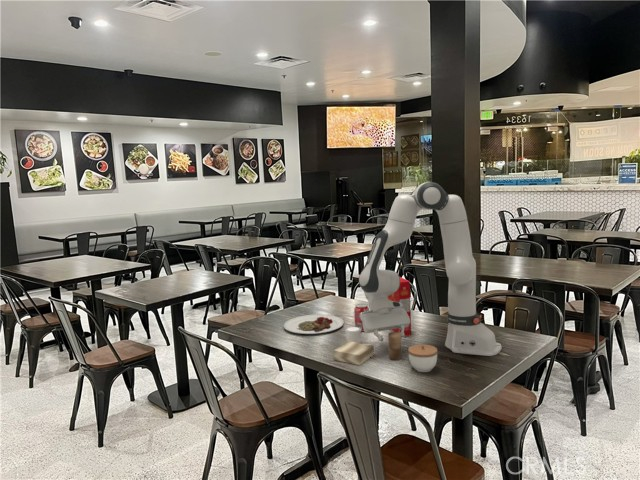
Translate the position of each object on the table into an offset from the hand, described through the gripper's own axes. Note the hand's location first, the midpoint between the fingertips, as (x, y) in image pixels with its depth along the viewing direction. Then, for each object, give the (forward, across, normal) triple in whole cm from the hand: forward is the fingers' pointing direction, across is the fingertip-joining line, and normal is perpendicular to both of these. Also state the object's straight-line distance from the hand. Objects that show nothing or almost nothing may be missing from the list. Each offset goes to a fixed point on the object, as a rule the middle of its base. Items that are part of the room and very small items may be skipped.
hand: (392, 338), depth 192 cm
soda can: (-20, +2, +31) cm, 37 cm away
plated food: (-31, -18, +43) cm, 56 cm away
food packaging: (-14, +17, +25) cm, 33 cm away
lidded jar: (+17, +5, -6) cm, 19 cm away
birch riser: (+1, -14, +9) cm, 17 cm away
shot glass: (-8, -9, +20) cm, 23 cm away
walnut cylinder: (+7, 0, +4) cm, 8 cm away
